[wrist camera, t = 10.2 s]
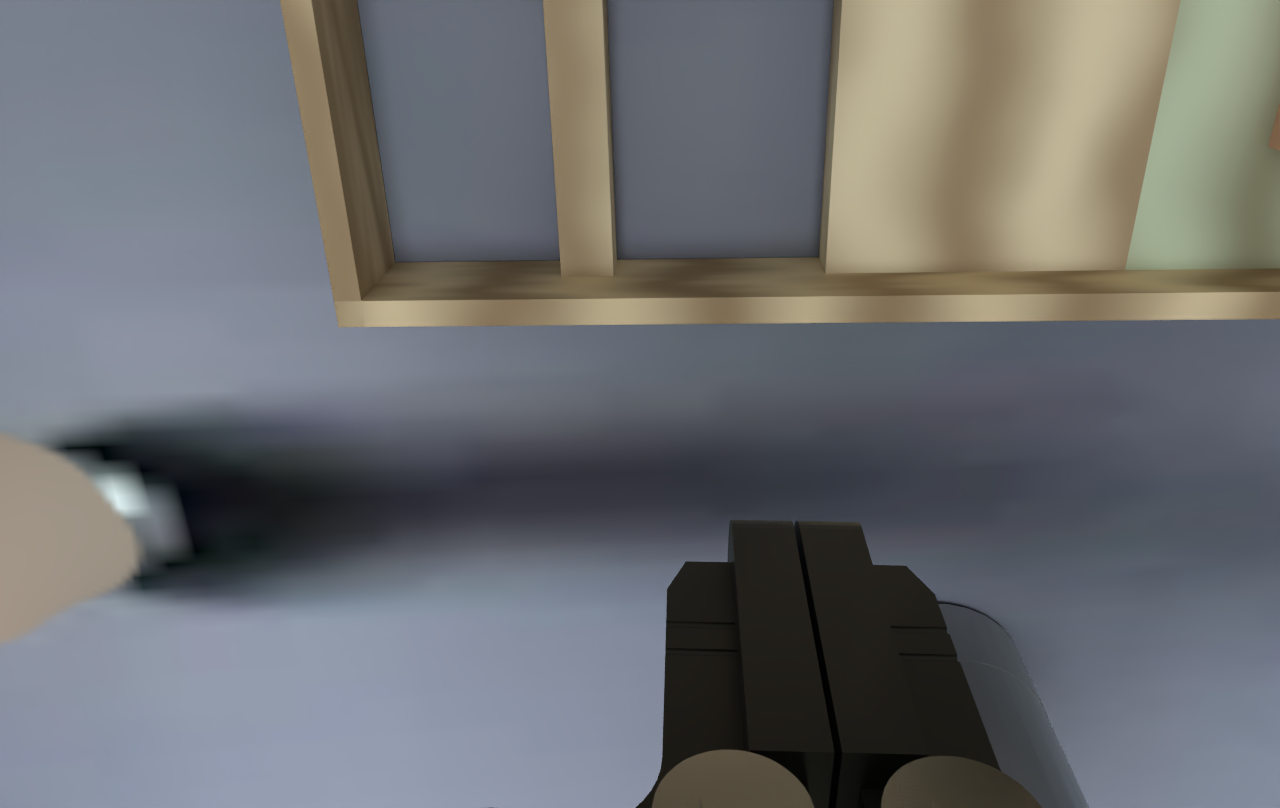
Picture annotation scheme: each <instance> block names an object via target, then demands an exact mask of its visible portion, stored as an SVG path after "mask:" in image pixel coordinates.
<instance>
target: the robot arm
mask: <svg viewBox="0 0 1280 808" xmlns="http://www.w3.org/2000/svg"><path fill="white" fill-rule="evenodd" d="M636 808H1089V807H1088V804H1087V802H1086V800H1085V798H1084V796H1083V794H1082V791H1081V789H1080V787H1079V785H1078V783H1077V780H1076V778H1075V776H1074V774H1073V772H1072V769H1071V767H1070V765H1069V763H1068V761H1067V758H1066V756H1065V754H1064V752H1063V750H1062V747H1061V745H1060V743H1059V741H1058V739H1057V737H1056V734H1055V732H1054V730H1053V728H1052V726H1051V723H1050V721H1049V719H1048V717H1047V715H1046V712H1045V710H1044V707H1043V705H1042V703H1041V701H1040V698H1039V696H1038V694H1037V692H1036V690H1035V688H1034V685H1033V683H1032V681H1031V679H1030V677H1029V675H1028V673H1027V670H1026V668H1025V666H1024V664H1023V662H1022V660H1021V658H1020V655H1019V653H1018V651H1017V649H1016V647H1015V645H1014V643H1013V641H1012V639H1011V638H1010V636H1009V635H1008V634H1007V633H1006V632H1005V631H1004V630H1003V628H1002V627H1001V626H1000V625H998V624H997V623H995V622H994V621H992V620H991V619H990V618H988V617H987V616H985V615H983V614H980V613H978V612H976V611H973V610H971V609H968V608H964V607H959V606H955V605H950V604H938V602H937V599H936V596H935V594H934V593H933V592H932V591H931V590H930V589H929V588H928V587H927V586H926V585H925V584H924V583H923V582H922V581H921V580H920V579H919V578H918V577H917V576H916V575H915V574H914V573H913V572H912V571H911V570H910V569H909V568H908V567H907V566H889V565H873V564H872V561H871V558H870V554H869V551H868V547H867V544H866V541H865V537H864V534H863V530H862V527H861V525H860V523H859V522H830V521H796V522H795V525H794V526H793V522H792V521H765V520H730V526H729V543H728V562H685V564H684V565H683V567H682V568H681V570H680V571H679V573H678V574H677V575H676V577H675V578H674V580H673V581H672V583H671V584H670V586H669V587H668V589H667V618H666V655H665V688H664V723H663V757H662V765H661V770H660V773H659V776H658V779H657V781H656V783H655V785H654V787H653V788H652V790H651V792H650V793H649V794H648V795H647V797H646V798H645V799H644V800H643V801H642V802H641V803H640V804H639V805H638V806H637V807H636Z"/></svg>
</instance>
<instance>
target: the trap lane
mask: <svg viewBox="0 0 1280 808" xmlns="http://www.w3.org/2000/svg"><path fill="white" fill-rule="evenodd" d="M280 3H281V8H282V14H283V19H284V25H285V31H286V36H287V42H288V47H289V53H290V58H291V64H292V70H293V75H294V81H295V86H296V92H297V98H298V103H299V109H300V114H301V120H302V125H303V131H304V137H305V142H306V148H307V153H308V159H309V164H310V170H311V176H312V181H313V187H314V192H315V198H316V204H317V209H318V215H319V220H320V226H321V231H322V237H323V243H324V248H325V254H326V259H327V265H328V271H329V276H330V282H331V287H332V293H333V298H334V304H335V310H336V315H337V321H338V326H339V327H402V326H518V325H633V324H749V323H864V322H980V321H1095V320H1211V319H1280V151H1279V150H1276V149H1273V148H1271V147H1268V145H1269V141H1270V138H1271V134H1272V130H1273V126H1274V122H1275V118H1276V115H1277V111H1278V107H1279V103H1280V0H834V6H833V23H832V40H831V57H830V75H829V92H828V109H827V127H826V144H825V161H824V178H823V196H822V213H821V230H820V248H819V257H797V258H716V259H634V260H617V246H616V220H615V195H614V169H613V144H612V118H611V93H610V67H609V42H608V17H607V0H543V9H544V24H545V39H546V54H547V69H548V84H549V99H550V114H551V129H552V144H553V159H554V174H555V189H556V204H557V219H558V234H559V249H560V260H552V261H470V262H395V258H394V251H393V244H392V237H391V230H390V224H389V217H388V210H387V203H386V196H385V189H384V183H383V176H382V169H381V162H380V155H379V148H378V142H377V135H376V128H375V121H374V114H373V107H372V101H371V94H370V87H369V80H368V73H367V66H366V60H365V53H364V46H363V39H362V32H361V25H360V19H359V12H358V5H357V0H280Z"/></svg>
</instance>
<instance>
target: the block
mask: <svg viewBox="0 0 1280 808" xmlns="http://www.w3.org/2000/svg"><path fill="white" fill-rule="evenodd" d="M1268 147H1271V148H1273V149H1276V150H1279V151H1280V103H1279V107H1278V111H1277V115H1276V118H1275V122H1274V126H1273V130H1272V134H1271V138H1270V141H1269V145H1268Z"/></svg>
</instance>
